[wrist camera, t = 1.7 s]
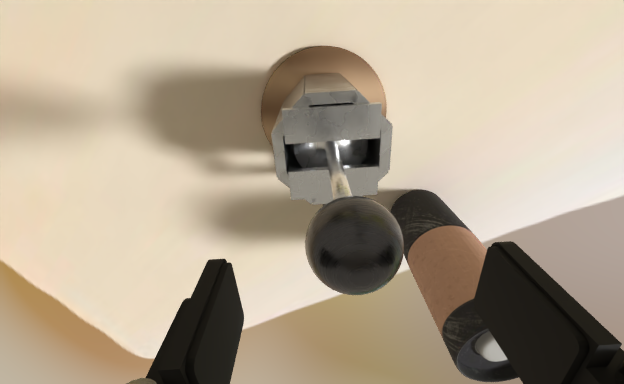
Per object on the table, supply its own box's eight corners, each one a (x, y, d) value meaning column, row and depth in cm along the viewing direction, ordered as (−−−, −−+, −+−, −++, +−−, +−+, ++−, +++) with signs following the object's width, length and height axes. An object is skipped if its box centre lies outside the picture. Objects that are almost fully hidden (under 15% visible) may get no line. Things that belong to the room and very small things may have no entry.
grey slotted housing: (280, 76, 30) (265, 97, 19) (364, 71, 30) (397, 88, 19) (290, 176, 36) (283, 238, 25) (361, 172, 36) (387, 232, 24)
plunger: (290, 108, 22) (265, 212, 9) (367, 103, 22) (462, 200, 9) (297, 178, 25) (285, 338, 12) (365, 174, 25) (434, 330, 12)
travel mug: (390, 239, 41) (453, 389, 24) (385, 194, 38) (454, 329, 20) (444, 229, 41) (551, 375, 23) (444, 182, 37) (569, 311, 19)
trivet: (252, 50, 30) (251, 50, 29) (389, 41, 30) (390, 41, 29) (270, 174, 36) (269, 176, 36) (381, 167, 36) (383, 169, 35)
